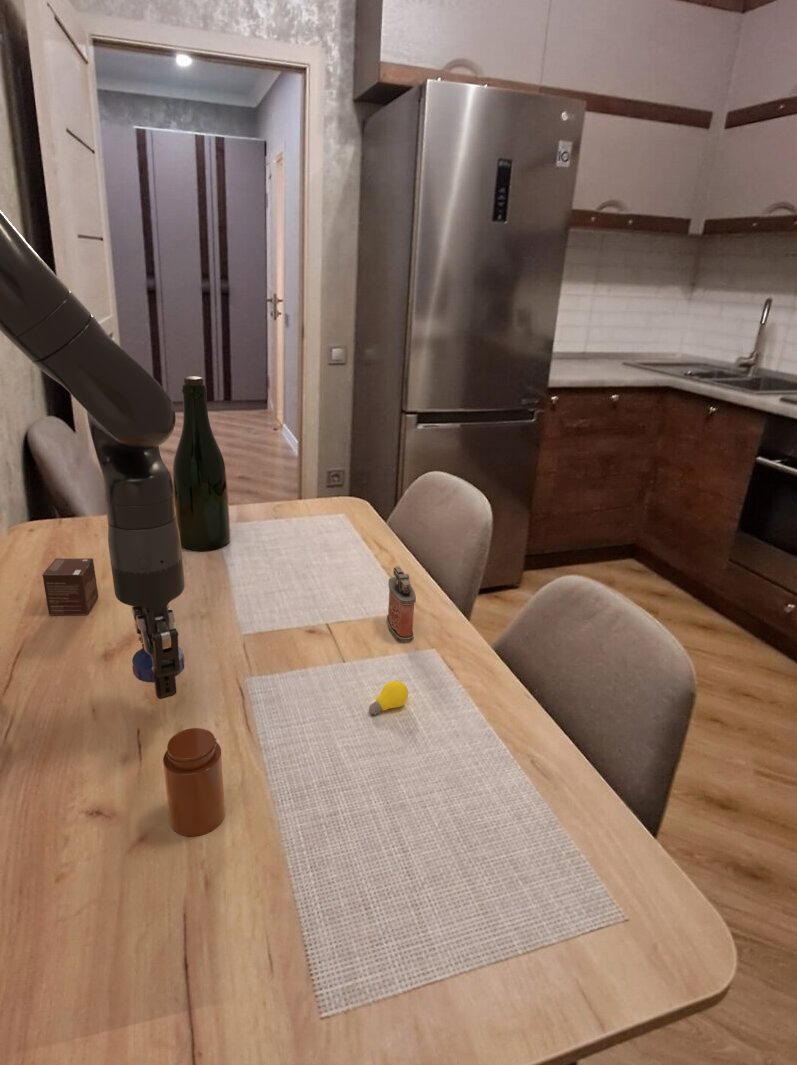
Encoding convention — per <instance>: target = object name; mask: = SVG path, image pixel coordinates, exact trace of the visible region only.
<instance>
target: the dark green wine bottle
mask: <svg viewBox="0 0 797 1065" xmlns="http://www.w3.org/2000/svg"><path fill="white" fill-rule="evenodd" d="M181 395H182V406H183V408H182V409H183V417H182V418H183V420H182V428H181V434H180V437H179V440H178V444H177V447H176V450H175V453H174V457H173V464H172V481H173V488H174V500H175V511H176V519H177V524H178V527H179V532H180V539H181V548H184V549H188V550H191V551H212V550H216V549H219V548H221V547H224V546H225V545H227V544H228V543H229V542H230V540H231V518H230V504H229V502H230V501H229V491H228V490H229V488H228V477H227V469H226V464H225V463H226V462H225V460H224V459H225V458H224V456H223V453H222V451H221V448H220V446H219V445H218V444H219V443H217V440H216V437H215V435H214V433H213V431H212V427H211V423H210V419H209V410H208V402H207V401H208V400H207V387H206V384H205V383H204V379H203V377H202V376H197V375H195V376H194V375H192V376H185V377H184V378H183V384H182V385H181Z"/></svg>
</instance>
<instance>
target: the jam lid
mask: <svg viewBox="0 0 797 1065" xmlns="http://www.w3.org/2000/svg"><path fill="white" fill-rule="evenodd" d="M151 646H153V645H151ZM178 650H179V665H180V668H179V669H180V671H179V672H176V673H175V678H176V677H177V676H179V675H180V674H181V673H182V672H183V671H184V669H185V654H184V650H183V648H181V647H180V646H179V645H178ZM131 662H132V675H134V677H135V678H136V679H137V680H139V681H141V682H145V683H154V684H155V681H154V673H153V671H152V669H151V667H152V663H151V658H150V654H147V653H146V652H145V651H144V648H142V647H141V648H140V649H139V650H137V651H136V652H135V653H134V655H133V656H132V659H131Z"/></svg>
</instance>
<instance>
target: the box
mask: <svg viewBox="0 0 797 1065" xmlns="http://www.w3.org/2000/svg"><path fill="white" fill-rule="evenodd" d="M42 579H43V587H44V588H43V589H44V592H45V593H44V594H45V599H46V605H47V613H48V615H49V616H65V615H66V616H72V615H73V616H79V615H80V616H87V615H88V614H90V611H91V610H92V608H93V606H94V604H96V602H97V600H98V598H99V592H98V585H97V578H96V570H95V563H94V558H90V557H89V558H87V557H85V558H54V560H53V561H52V562H51V563H50V565H49V566H48V567H47V568H46V570H44V572H43V573H42Z"/></svg>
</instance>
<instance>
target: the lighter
mask: <svg viewBox="0 0 797 1065" xmlns="http://www.w3.org/2000/svg"><path fill="white" fill-rule="evenodd" d="M392 570H393V571H392V572H393V573H392V574H393V576H394V577H392V576H391V577H390V578H389V579H388V584H387V585H388V590H389V591H388V610H387V615H386V626H387V628H388V631H389V633H390V634H391V636H392V637H393V638H394V639H395V640H396V641H397V642H398V643H401V644H409V643H412V642H413V641H414V631H413V629H414V628H413V627H414V613H415V612H414V611H415V603H416V602H417V596H416V592H415V590H414V588H413V587H412V582H411V581H410V575H409V573H405V572H404V570H403V569H402V567H401V566H400V565H396V566H394V567H393V569H392Z"/></svg>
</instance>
